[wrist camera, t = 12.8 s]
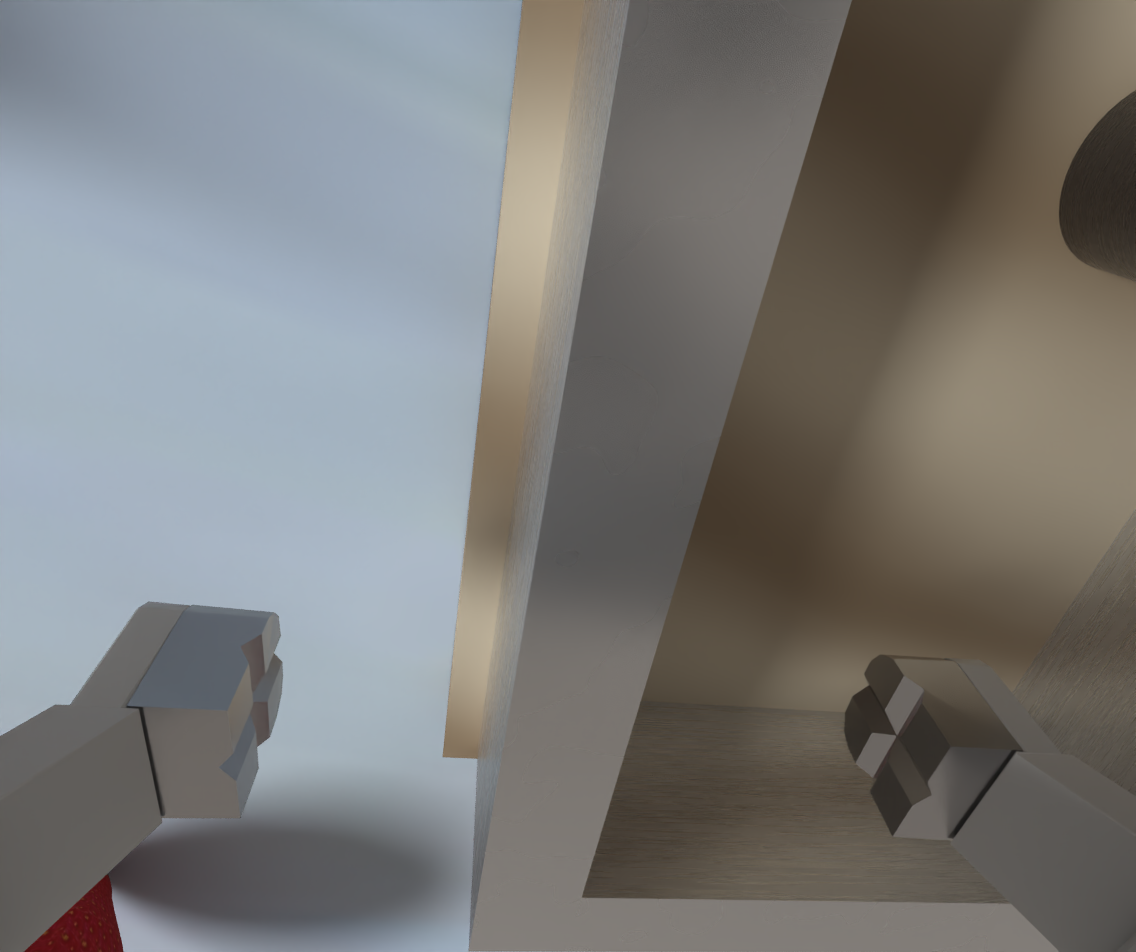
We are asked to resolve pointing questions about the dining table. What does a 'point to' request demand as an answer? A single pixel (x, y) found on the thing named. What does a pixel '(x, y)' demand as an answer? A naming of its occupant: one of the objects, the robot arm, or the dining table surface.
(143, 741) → the robot arm
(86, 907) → the strawberry
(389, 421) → the dining table surface
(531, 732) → the steel link
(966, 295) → the board
